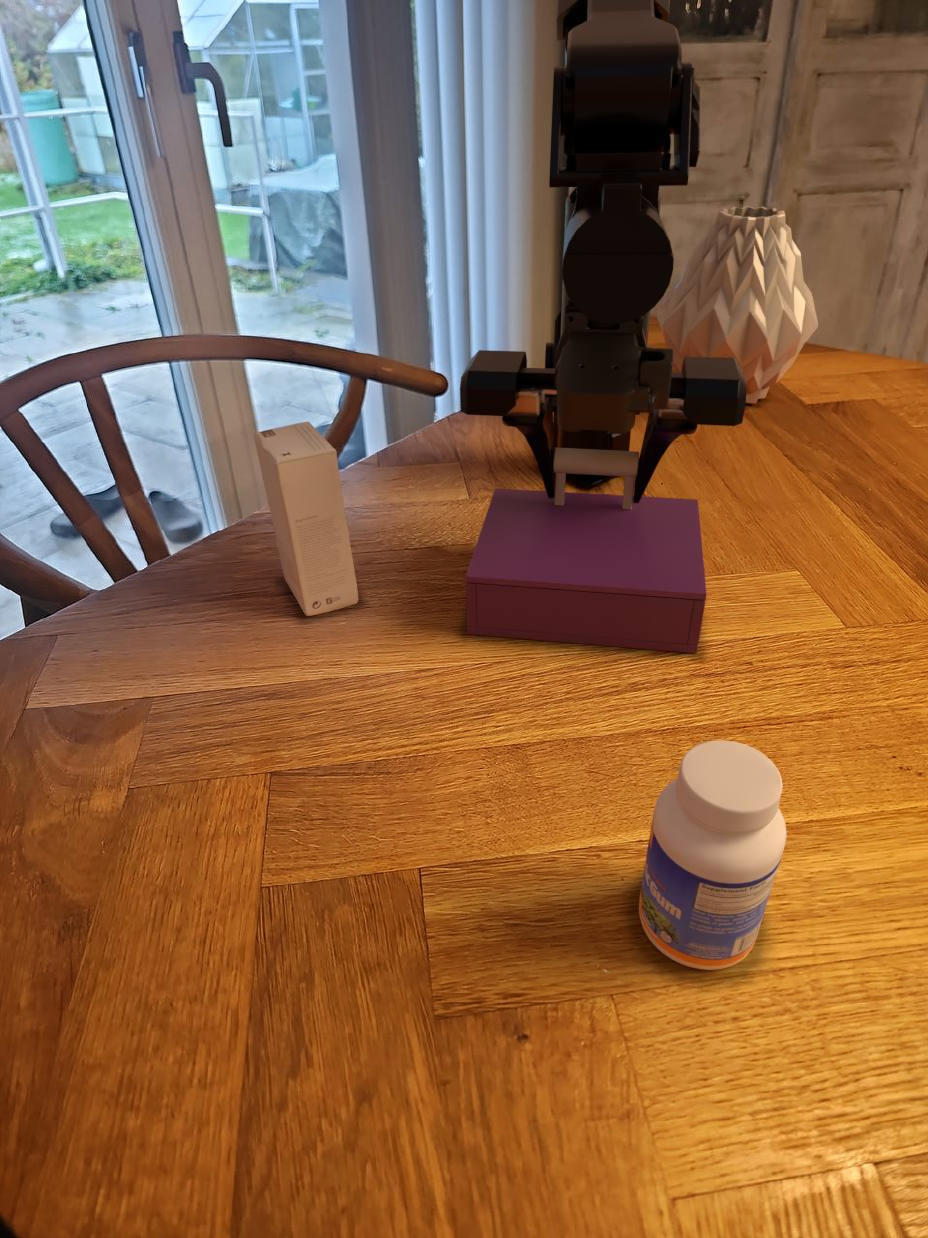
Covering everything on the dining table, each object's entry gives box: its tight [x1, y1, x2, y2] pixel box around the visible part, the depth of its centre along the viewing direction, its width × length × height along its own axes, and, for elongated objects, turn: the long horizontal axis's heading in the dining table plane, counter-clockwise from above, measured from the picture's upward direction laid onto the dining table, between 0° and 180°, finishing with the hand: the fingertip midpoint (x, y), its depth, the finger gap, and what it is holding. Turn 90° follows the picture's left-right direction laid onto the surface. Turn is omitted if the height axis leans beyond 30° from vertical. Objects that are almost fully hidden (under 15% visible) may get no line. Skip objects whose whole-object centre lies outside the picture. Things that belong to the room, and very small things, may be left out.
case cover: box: [465, 448, 708, 601], centre depth 58 cm, size 13×15×5 cm
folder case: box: [465, 581, 706, 654], centre depth 61 cm, size 12×15×4 cm
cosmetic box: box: [253, 421, 359, 617], centre depth 60 cm, size 6×4×12 cm
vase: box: [655, 205, 819, 405], centre depth 88 cm, size 16×16×18 cm
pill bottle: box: [638, 739, 787, 971], centre depth 37 cm, size 5×5×10 cm
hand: (593, 498), depth 63 cm, fingers closed on case cover, 6 cm apart
